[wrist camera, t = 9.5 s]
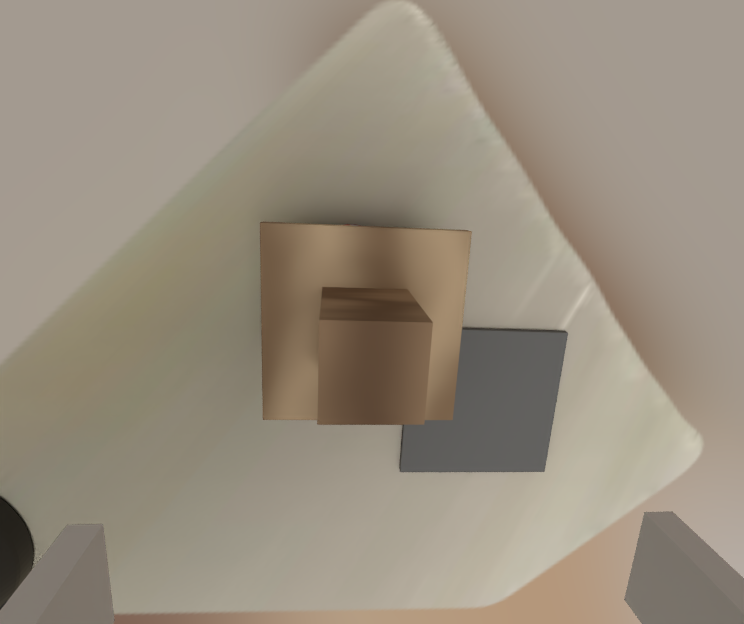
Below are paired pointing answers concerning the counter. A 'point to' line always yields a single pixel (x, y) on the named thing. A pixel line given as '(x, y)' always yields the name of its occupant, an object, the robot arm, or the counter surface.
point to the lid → (361, 322)
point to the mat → (494, 406)
